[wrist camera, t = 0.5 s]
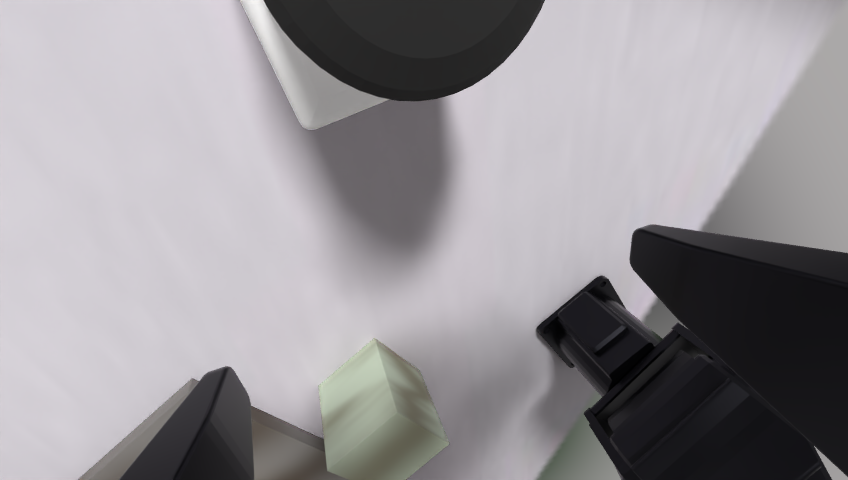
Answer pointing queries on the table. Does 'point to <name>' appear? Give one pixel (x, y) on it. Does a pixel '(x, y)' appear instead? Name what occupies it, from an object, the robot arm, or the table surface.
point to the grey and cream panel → (272, 447)
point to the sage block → (378, 417)
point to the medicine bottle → (383, 49)
